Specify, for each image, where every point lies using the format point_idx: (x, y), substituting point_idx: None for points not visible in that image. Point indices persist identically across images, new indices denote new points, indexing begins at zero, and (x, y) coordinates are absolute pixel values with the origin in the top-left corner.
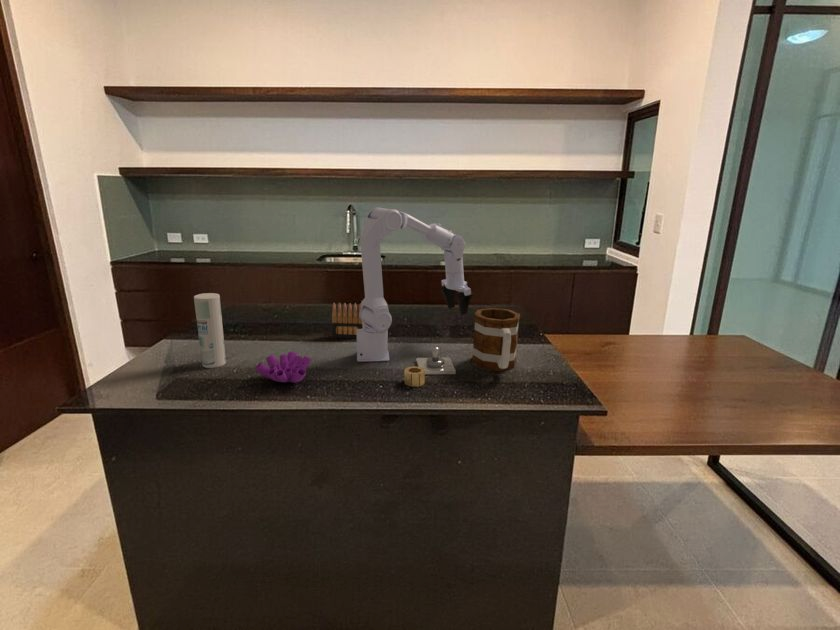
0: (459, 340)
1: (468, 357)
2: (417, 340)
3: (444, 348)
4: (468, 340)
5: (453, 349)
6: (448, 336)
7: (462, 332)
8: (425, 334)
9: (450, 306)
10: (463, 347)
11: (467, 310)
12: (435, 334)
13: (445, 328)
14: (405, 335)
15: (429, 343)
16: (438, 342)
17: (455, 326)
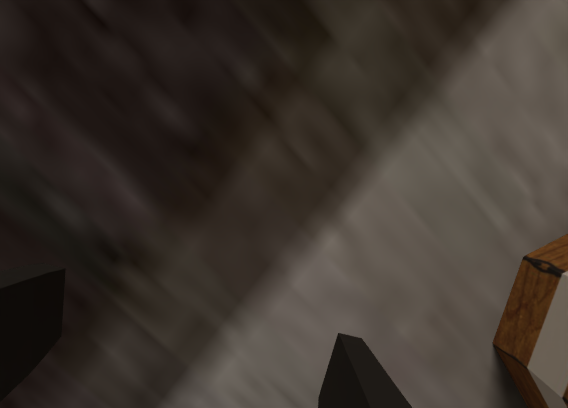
0: (258, 221)
1: (477, 380)
2: (116, 403)
3: (300, 380)
4: (291, 178)
5: None
6: (166, 221)
7: (160, 93)
8: None
9: (41, 335)
10: (356, 290)
11: (377, 361)
12: (94, 256)
13: (38, 124)
14: (14, 398)
15: (192, 387)
16: (209, 339)
17: (42, 37)
